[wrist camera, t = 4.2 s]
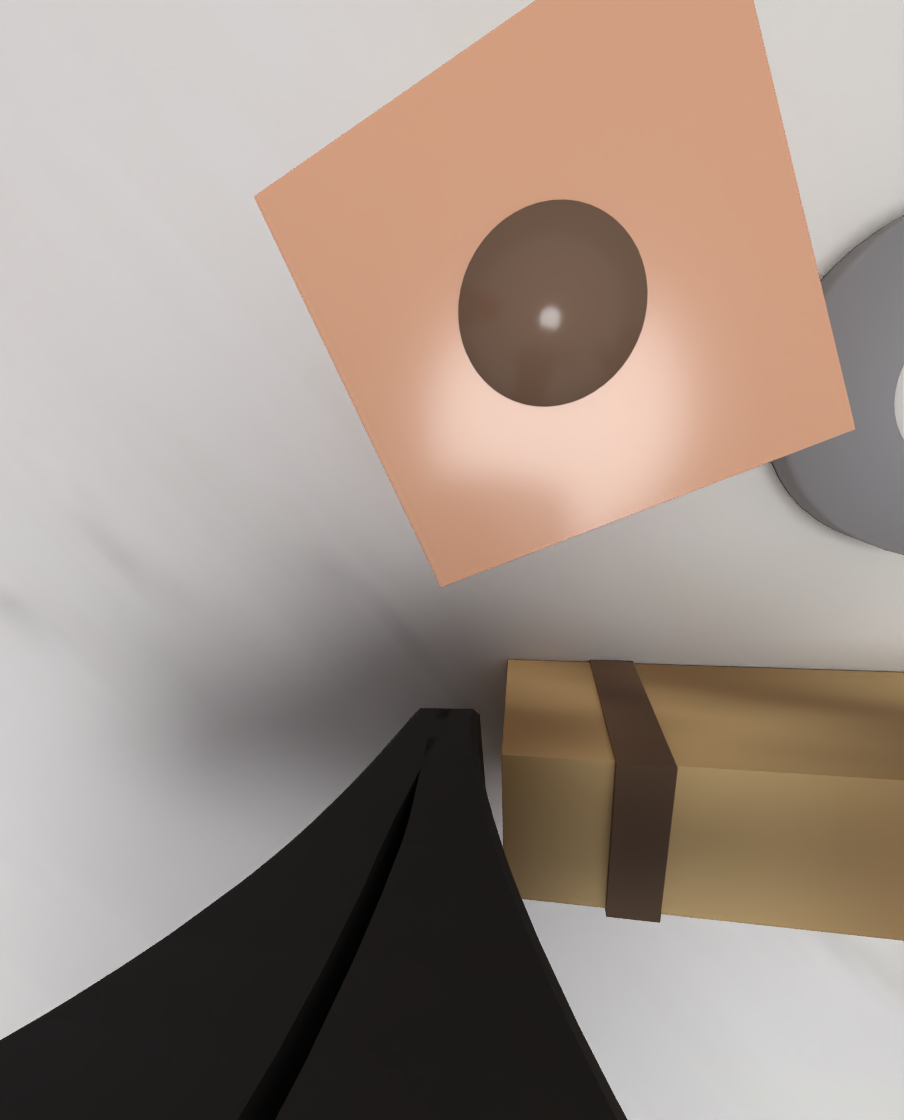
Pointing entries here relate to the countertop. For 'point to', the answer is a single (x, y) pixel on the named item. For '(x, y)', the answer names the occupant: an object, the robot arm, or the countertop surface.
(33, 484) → the countertop surface
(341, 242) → the loose bead
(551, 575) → the countertop surface
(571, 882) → the tan wooden bar
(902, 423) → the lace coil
